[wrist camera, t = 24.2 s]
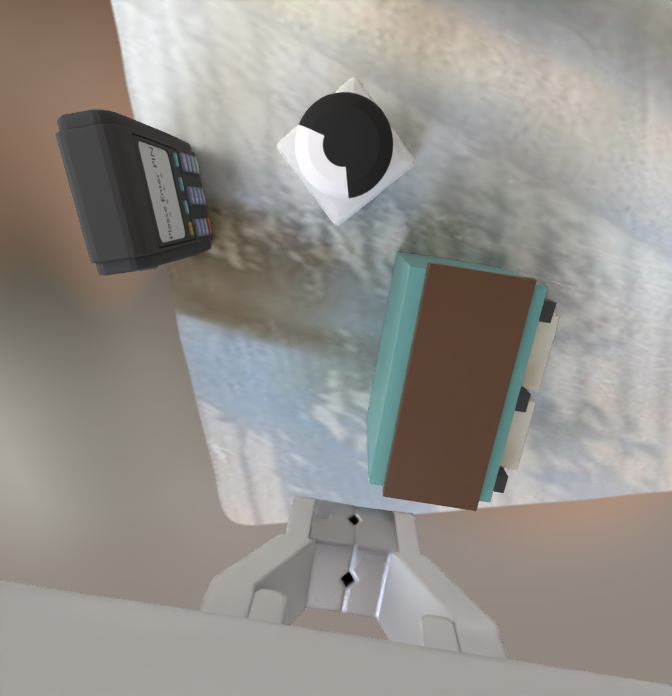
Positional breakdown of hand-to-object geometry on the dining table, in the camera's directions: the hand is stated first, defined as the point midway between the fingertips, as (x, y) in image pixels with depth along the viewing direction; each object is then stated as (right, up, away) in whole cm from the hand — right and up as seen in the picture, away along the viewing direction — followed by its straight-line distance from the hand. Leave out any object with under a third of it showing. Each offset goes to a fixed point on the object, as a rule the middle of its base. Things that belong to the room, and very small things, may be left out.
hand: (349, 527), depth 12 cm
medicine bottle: (+1, +20, +29) cm, 35 cm away
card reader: (-13, +17, +30) cm, 37 cm away
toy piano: (+8, +5, +33) cm, 34 cm away
